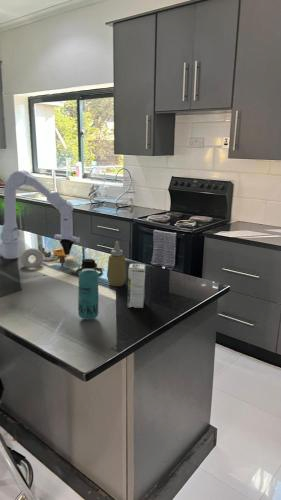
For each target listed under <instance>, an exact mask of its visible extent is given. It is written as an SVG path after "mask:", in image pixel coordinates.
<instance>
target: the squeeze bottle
mask: <svg viewBox="0 0 281 500" xmlns="http://www.w3.org/2000/svg"><path fill="white" fill-rule="evenodd" d="M123 253H124V251H123V249H121V247H120V242H119V241H117V240H116V241H115V244H114V247H113V249H112V250H110V255H109V256H108V262H107V271H106V277H107V280H108V284H109V286H112V287H122V286H124V285H125V282H126V279H127V267H126V256H125V255H123Z"/></svg>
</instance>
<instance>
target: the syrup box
mask: <svg viewBox="0 0 281 500" xmlns="http://www.w3.org/2000/svg"><path fill="white" fill-rule="evenodd" d="M127 272H128V273H127V274H128V275H127V278H128V279H127V281H128V282H127V297H126V298H127V299H126V301H127V303H126V305H127V306H126V307H127V308H131V307H134V308H137V309H138V308H139V309H143V308H144V304H145V303H144V302H145V286H146V285H145V284H146V283H145V281H146V264H143V263H130V264H129V266H128V271H127Z"/></svg>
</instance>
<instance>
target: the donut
mask: <svg viewBox="0 0 281 500" xmlns="http://www.w3.org/2000/svg"><path fill="white" fill-rule="evenodd" d="M30 256H35V257H36V260H35V259H34V261H30V260H29V258H30ZM42 262H43V255H42V251H40V250H39V249H37V248H35V247H34V248H33V247H30V248H26V249H25V250H24V251H23V252H22V253H21V255H20V264H21V265H22V267H24V268H26V269H27V268H29V269H30V268H39V267H40V266H42V265H43V263H42Z"/></svg>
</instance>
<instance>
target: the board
mask: <svg viewBox="0 0 281 500" xmlns="http://www.w3.org/2000/svg"><path fill="white" fill-rule="evenodd" d="M44 252H46V247H41V253H42V254H44ZM51 254H53V252H51ZM60 257H65V263H70V262H71V263H72V262H75V261H80V260H81V258H80V259H79V258H77V257H76V256H73V255H70V254H69V255H66V256H60ZM60 257H58V259H56V260H52V261H43V262H42V264H45V265H46V266H49V267H50V266H55V265H56V266H57V265H60V264H61V263H60ZM29 258H30V259H32V260H34V261H35V260H36V257H35V256H33V255H32V256H29ZM65 263H64V264H65ZM61 265H62V264H61Z"/></svg>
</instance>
